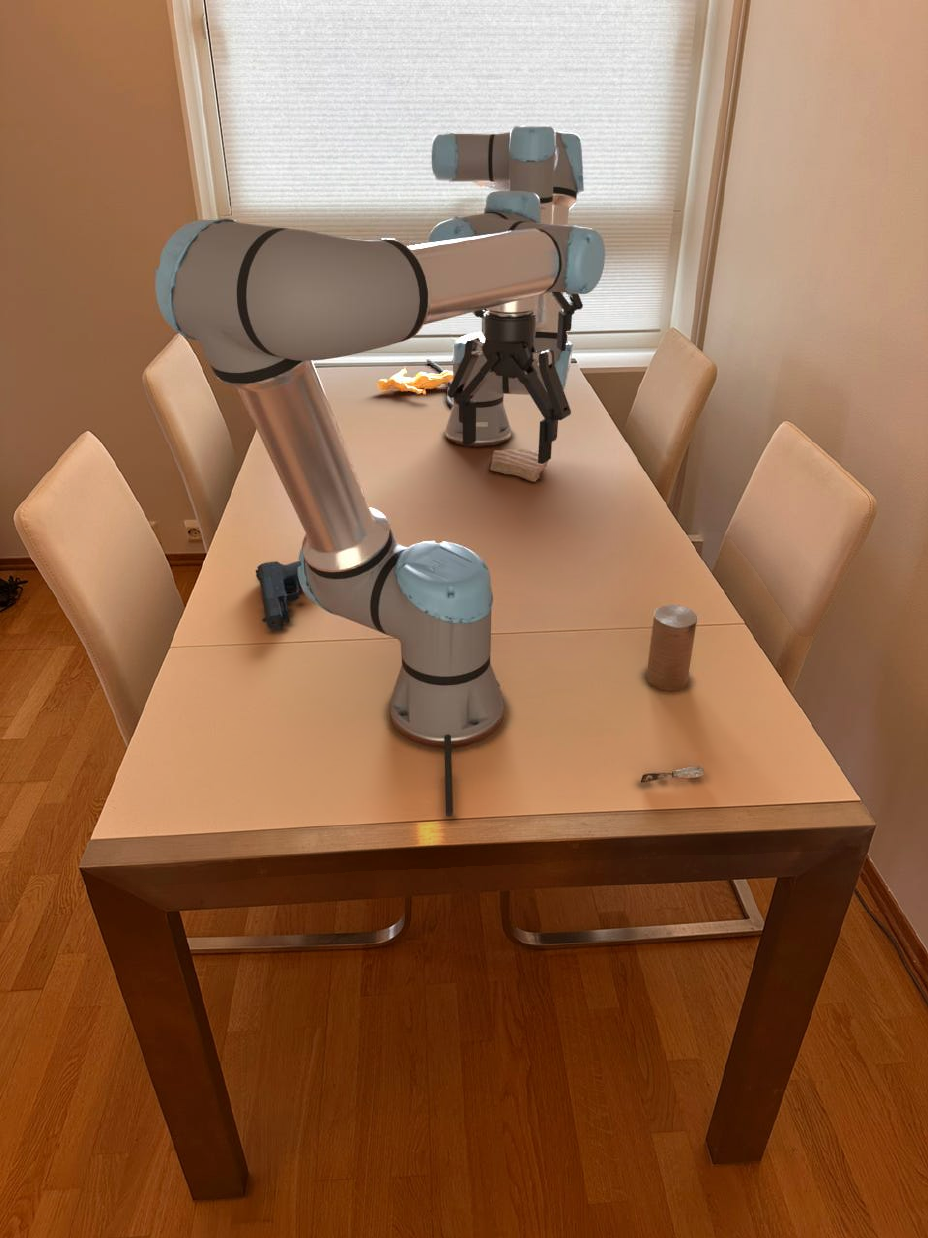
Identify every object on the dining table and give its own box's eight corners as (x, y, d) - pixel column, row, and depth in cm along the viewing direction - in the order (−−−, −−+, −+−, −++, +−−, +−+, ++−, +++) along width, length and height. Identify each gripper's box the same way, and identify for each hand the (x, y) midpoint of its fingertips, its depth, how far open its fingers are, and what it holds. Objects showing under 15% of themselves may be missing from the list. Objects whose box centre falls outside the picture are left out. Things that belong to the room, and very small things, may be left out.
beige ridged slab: (554, 462, 195) (554, 451, 194) (536, 482, 186) (537, 471, 185) (499, 454, 200) (499, 444, 198) (479, 474, 190) (479, 463, 189)
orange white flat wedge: (371, 392, 238) (370, 377, 236) (413, 371, 252) (412, 357, 250) (432, 405, 230) (432, 390, 227) (472, 383, 244) (472, 369, 241)
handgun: (340, 621, 141) (263, 633, 138) (325, 568, 155) (255, 578, 152) (339, 604, 139) (261, 615, 136) (323, 552, 153) (252, 561, 151)
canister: (682, 667, 130) (692, 604, 124) (691, 691, 125) (701, 627, 119) (643, 667, 130) (651, 604, 124) (649, 691, 125) (658, 626, 119)
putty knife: (703, 777, 109) (705, 767, 109) (642, 788, 108) (644, 777, 107) (700, 772, 110) (702, 762, 109) (639, 782, 109) (640, 771, 108)
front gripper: (600, 316, 124) (589, 460, 136) (452, 295, 136) (452, 429, 147) (576, 327, 119) (566, 476, 130) (423, 304, 131) (426, 443, 142)
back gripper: (464, 235, 148) (465, 362, 159) (606, 227, 153) (597, 352, 164) (454, 227, 154) (455, 351, 165) (590, 220, 159) (582, 340, 170)
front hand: (506, 452), depth 139 cm, fingers open, 13 cm apart
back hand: (526, 351), depth 165 cm, fingers open, 13 cm apart
